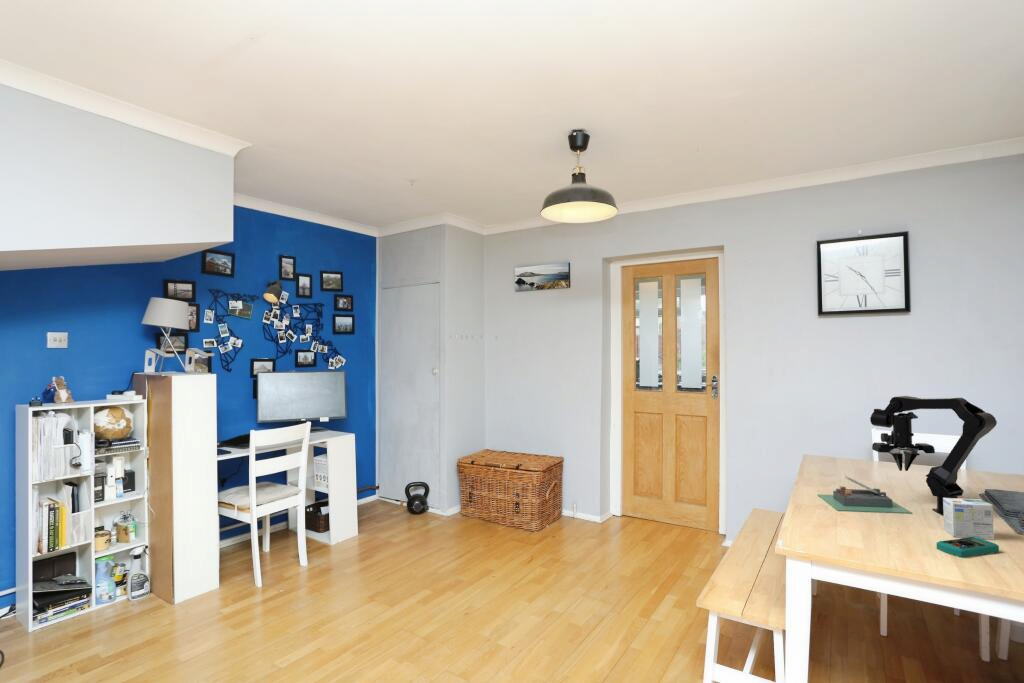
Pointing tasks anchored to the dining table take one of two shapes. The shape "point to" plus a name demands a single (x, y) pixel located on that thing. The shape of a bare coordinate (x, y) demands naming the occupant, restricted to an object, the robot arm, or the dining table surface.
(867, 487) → the grey flat long bar
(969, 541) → the digital multimeter
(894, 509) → the board
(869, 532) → the dining table surface
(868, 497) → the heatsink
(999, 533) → the dining table surface
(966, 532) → the light bulb box
